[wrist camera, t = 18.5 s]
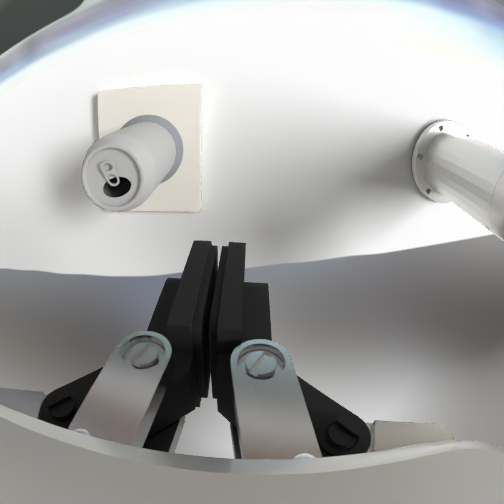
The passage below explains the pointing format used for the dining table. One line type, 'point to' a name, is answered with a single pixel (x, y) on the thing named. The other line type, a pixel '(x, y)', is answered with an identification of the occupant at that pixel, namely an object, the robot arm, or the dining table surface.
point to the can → (127, 166)
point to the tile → (176, 123)
